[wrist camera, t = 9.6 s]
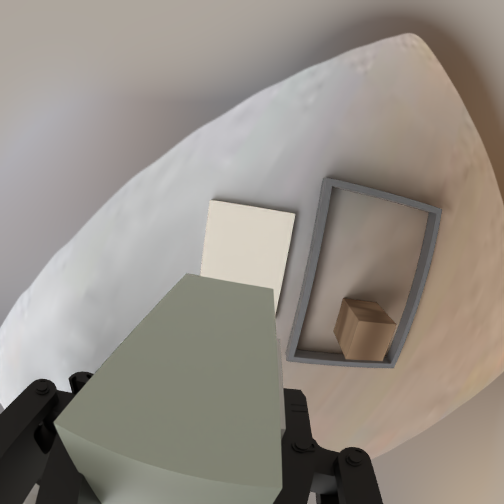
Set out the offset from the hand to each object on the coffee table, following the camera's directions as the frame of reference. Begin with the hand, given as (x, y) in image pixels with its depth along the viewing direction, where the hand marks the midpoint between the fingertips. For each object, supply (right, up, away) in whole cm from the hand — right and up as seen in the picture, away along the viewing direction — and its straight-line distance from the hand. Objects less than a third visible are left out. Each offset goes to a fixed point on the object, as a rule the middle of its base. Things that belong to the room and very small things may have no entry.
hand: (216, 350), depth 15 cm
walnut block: (+16, -3, +21) cm, 26 cm away
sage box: (0, 0, +2) cm, 2 cm away
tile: (+1, +4, +20) cm, 20 cm away
